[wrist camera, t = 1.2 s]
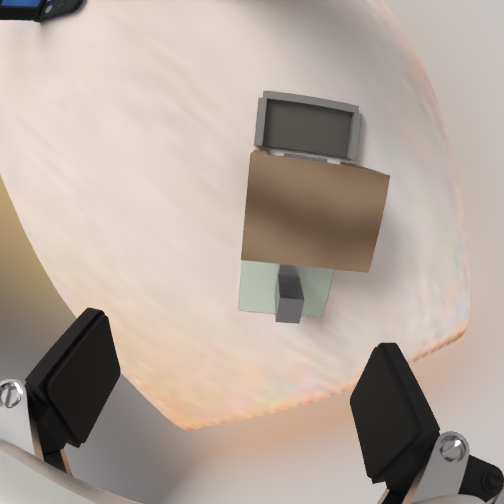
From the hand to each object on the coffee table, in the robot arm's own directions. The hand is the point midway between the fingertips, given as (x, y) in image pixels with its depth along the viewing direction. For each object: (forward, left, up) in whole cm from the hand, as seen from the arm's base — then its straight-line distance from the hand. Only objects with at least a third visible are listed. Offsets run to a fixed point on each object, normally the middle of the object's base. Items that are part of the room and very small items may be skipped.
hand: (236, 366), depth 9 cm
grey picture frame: (-9, +4, -23) cm, 25 cm away
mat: (+8, +4, -23) cm, 25 cm away
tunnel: (-2, +4, -23) cm, 23 cm away
